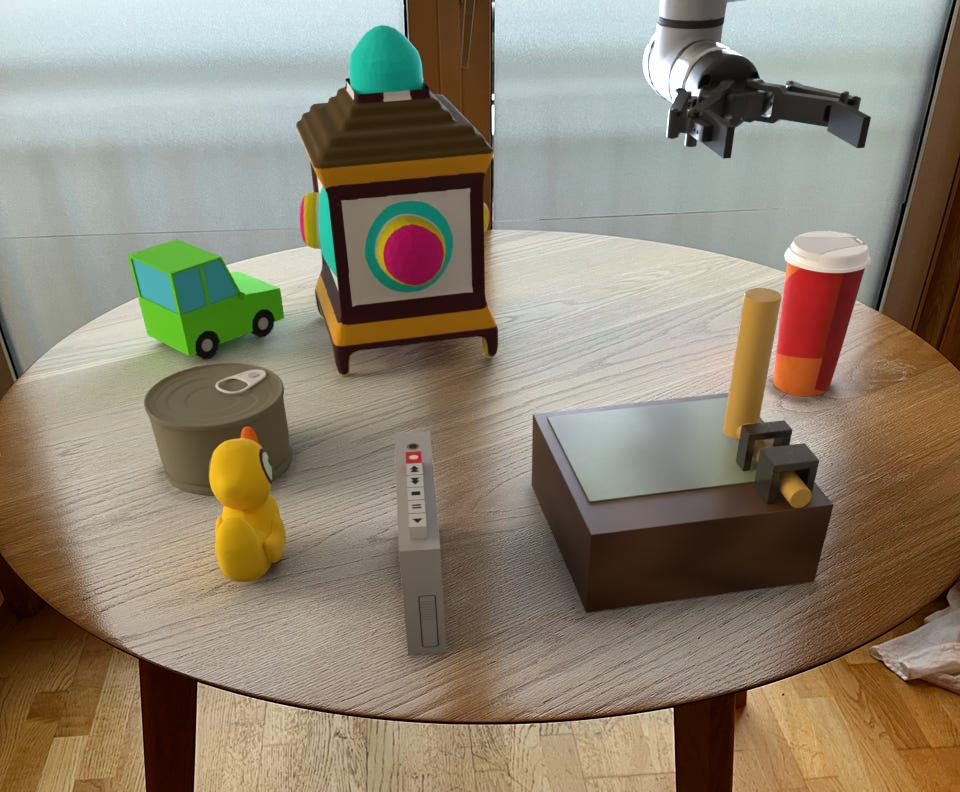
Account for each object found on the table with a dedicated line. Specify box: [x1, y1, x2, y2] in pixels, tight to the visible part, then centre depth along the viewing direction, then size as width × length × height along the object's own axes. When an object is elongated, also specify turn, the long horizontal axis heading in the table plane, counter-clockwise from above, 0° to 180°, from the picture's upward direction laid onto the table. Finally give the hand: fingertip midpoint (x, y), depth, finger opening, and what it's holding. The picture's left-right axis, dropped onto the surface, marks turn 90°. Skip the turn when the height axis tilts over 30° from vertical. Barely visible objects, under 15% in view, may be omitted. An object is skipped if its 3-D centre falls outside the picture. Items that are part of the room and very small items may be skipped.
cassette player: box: [394, 430, 447, 656], centre depth 73 cm, size 16×3×10 cm, turn 5°
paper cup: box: [772, 230, 871, 397], centre depth 96 cm, size 8×8×14 cm
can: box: [143, 362, 293, 496], centre depth 89 cm, size 12×12×7 cm
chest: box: [531, 392, 835, 614], centre depth 78 cm, size 18×18×10 cm
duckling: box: [209, 427, 287, 583], centre depth 76 cm, size 11×5×10 cm, turn 1°
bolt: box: [723, 287, 812, 508], centre depth 71 cm, size 3×12×11 cm, turn 11°
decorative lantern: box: [295, 24, 499, 377], centre depth 101 cm, size 20×20×30 cm
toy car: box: [127, 238, 285, 360], centre depth 109 cm, size 10×13×10 cm
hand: (797, 137), depth 94 cm, fingers open, 13 cm apart
